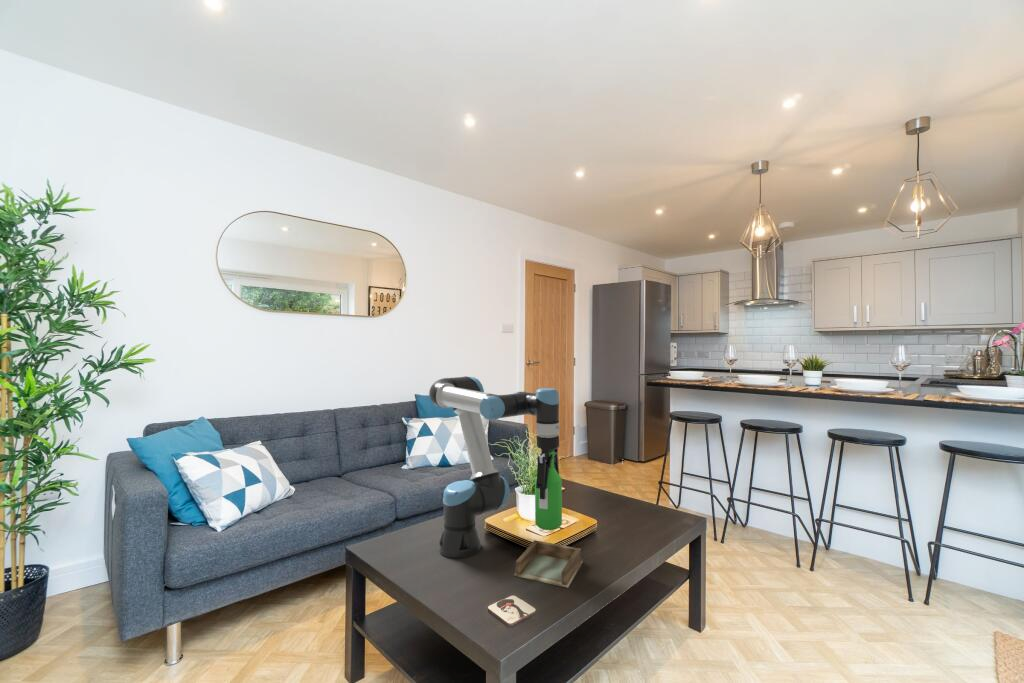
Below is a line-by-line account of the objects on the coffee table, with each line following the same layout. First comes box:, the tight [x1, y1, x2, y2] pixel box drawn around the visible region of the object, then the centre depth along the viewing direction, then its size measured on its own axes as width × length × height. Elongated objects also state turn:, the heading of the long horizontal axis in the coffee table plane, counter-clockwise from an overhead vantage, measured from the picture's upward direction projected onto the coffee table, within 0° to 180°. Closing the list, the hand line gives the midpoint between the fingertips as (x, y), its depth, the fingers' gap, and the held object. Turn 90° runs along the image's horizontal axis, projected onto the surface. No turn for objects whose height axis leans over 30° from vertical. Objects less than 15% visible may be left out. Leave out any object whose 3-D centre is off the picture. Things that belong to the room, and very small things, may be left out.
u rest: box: [513, 539, 584, 589], centre depth 147 cm, size 18×17×5 cm
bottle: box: [534, 450, 563, 531], centre depth 146 cm, size 9×9×25 cm
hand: (548, 503), depth 146 cm, fingers closed on bottle, 9 cm apart
